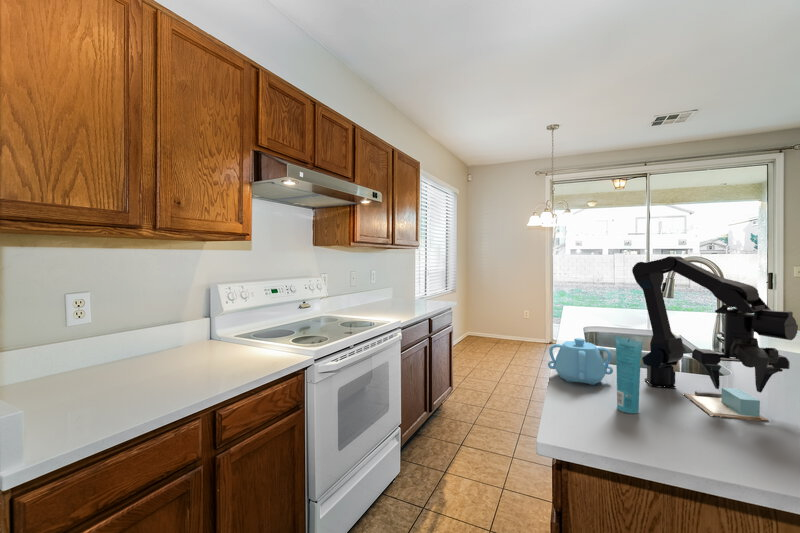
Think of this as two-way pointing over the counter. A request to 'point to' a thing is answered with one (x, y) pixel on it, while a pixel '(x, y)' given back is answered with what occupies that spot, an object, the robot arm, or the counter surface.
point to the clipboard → (718, 406)
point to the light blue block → (740, 402)
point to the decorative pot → (580, 362)
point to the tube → (628, 373)
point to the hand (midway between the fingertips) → (737, 390)
